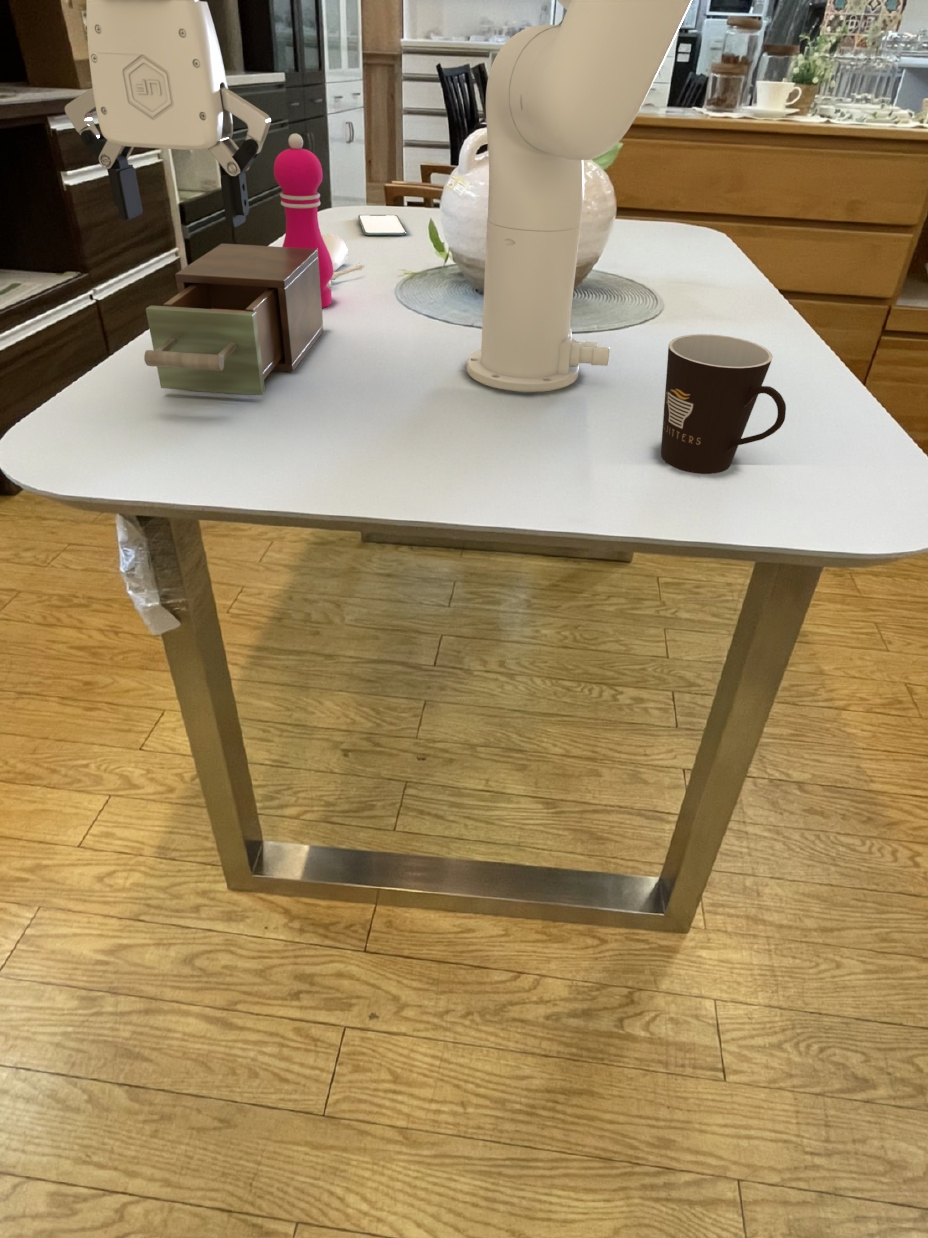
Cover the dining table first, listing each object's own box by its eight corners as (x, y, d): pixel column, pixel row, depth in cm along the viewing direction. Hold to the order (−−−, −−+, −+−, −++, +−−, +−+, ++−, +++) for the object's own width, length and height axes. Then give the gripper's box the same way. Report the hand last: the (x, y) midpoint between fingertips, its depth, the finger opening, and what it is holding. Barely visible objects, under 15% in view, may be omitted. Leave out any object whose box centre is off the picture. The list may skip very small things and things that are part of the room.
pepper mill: (325, 312, 106) (313, 138, 94) (273, 308, 107) (255, 134, 95) (342, 298, 112) (333, 132, 100) (293, 294, 113) (278, 128, 101)
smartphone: (407, 236, 146) (397, 217, 158) (407, 233, 145) (397, 214, 158) (364, 236, 144) (357, 217, 157) (364, 233, 144) (357, 214, 156)
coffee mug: (638, 439, 77) (656, 333, 71) (724, 438, 78) (750, 334, 72) (673, 496, 68) (698, 381, 62) (771, 495, 69) (804, 381, 63)
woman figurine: (365, 230, 127) (361, 267, 113) (366, 260, 129) (363, 299, 116) (291, 229, 126) (278, 265, 112) (294, 258, 129) (281, 298, 115)
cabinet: (292, 371, 88) (284, 280, 83) (190, 365, 89) (174, 273, 83) (323, 331, 100) (317, 248, 94) (232, 325, 101) (221, 243, 95)
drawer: (244, 417, 76) (232, 334, 71) (137, 409, 76) (119, 326, 72) (296, 351, 91) (290, 279, 87) (207, 345, 92) (195, 273, 87)
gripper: (10, -32, 59) (70, 223, 69) (238, -22, 58) (265, 235, 68) (62, -26, 65) (110, 207, 75) (270, -18, 64) (290, 219, 74)
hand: (184, 220), depth 72 cm, fingers open, 9 cm apart
